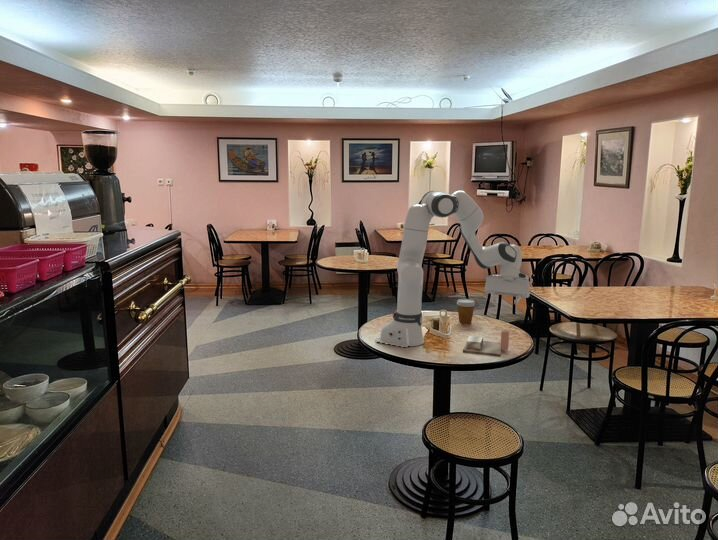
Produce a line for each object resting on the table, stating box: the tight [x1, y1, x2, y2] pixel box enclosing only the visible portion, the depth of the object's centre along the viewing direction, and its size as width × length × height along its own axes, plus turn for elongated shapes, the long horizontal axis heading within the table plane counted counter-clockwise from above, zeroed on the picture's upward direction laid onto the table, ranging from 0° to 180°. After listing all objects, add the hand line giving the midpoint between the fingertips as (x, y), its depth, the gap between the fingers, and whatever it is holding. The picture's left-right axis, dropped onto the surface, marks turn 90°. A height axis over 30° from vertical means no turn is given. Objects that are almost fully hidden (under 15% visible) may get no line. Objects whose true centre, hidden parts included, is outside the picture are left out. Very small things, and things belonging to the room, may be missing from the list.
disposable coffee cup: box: [456, 298, 476, 325], centre depth 268 cm, size 10×10×12 cm
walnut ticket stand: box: [462, 335, 503, 357], centre depth 229 cm, size 16×16×4 cm
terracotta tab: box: [500, 328, 510, 351], centre depth 225 cm, size 3×5×8 cm, turn 160°
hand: (504, 302), depth 234 cm, fingers open, 8 cm apart
